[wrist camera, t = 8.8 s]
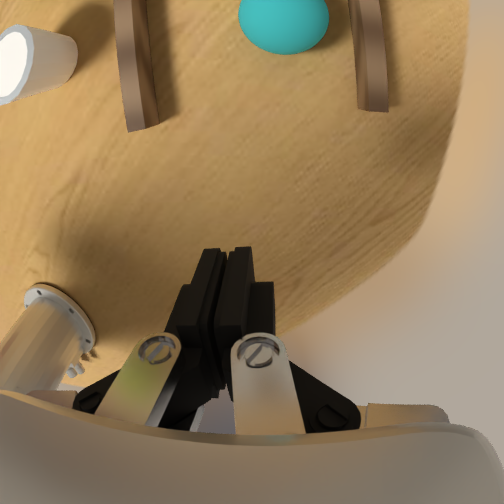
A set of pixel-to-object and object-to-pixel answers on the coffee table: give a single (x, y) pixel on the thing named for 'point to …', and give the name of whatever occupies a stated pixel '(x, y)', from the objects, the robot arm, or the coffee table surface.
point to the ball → (284, 24)
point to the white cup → (34, 61)
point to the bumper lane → (141, 76)
